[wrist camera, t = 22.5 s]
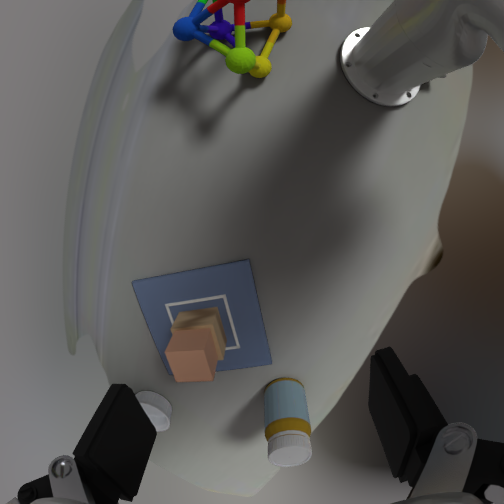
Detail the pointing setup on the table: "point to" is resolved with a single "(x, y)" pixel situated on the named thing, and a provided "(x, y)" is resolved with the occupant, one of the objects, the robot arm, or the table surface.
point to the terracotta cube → (192, 355)
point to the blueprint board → (207, 296)
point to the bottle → (287, 423)
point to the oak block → (203, 325)
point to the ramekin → (156, 409)
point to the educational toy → (220, 29)
